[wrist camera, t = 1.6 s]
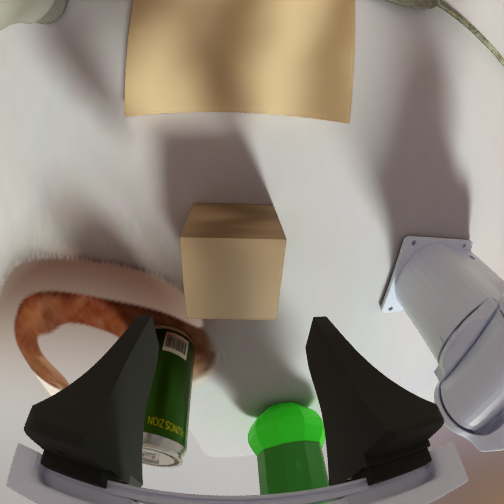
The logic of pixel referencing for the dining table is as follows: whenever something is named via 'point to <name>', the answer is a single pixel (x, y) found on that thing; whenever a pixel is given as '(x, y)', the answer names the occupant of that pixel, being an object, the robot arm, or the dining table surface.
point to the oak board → (241, 57)
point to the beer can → (169, 400)
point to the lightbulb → (30, 11)
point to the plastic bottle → (289, 449)
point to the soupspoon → (432, 0)
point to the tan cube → (232, 261)
